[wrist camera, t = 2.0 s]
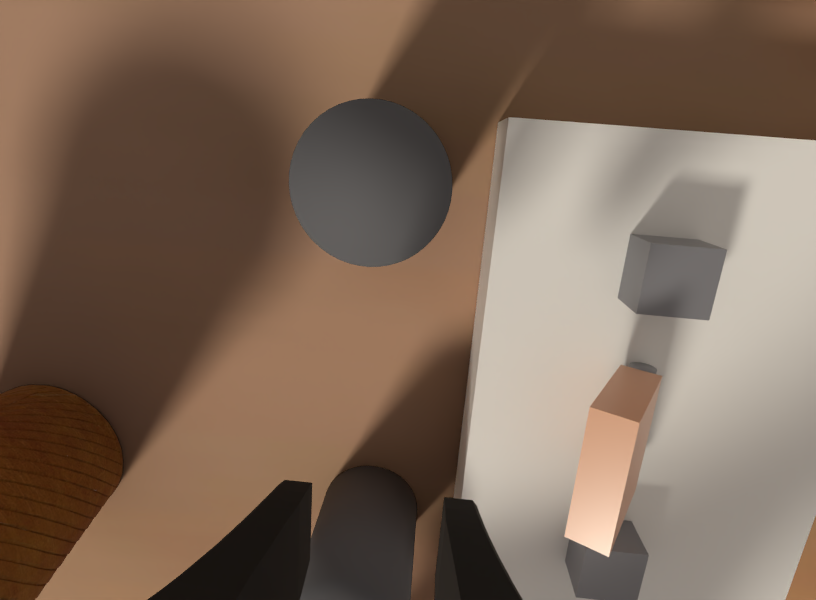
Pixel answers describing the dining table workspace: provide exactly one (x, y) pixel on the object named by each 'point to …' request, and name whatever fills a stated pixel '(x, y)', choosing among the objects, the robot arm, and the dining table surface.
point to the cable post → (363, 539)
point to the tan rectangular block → (612, 456)
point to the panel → (647, 355)
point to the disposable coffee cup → (49, 481)
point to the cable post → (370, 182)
